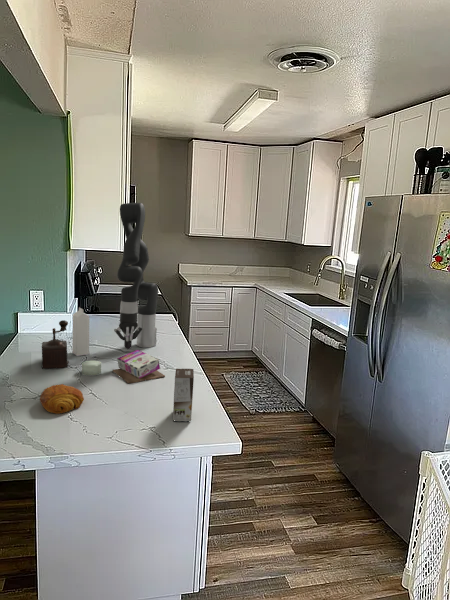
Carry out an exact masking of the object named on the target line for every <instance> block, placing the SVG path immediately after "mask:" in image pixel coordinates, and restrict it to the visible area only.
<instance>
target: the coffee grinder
mask: <svg viewBox="0 0 450 600" xmlns="http://www.w3.org/2000/svg"><path fill="white" fill-rule="evenodd" d="M58 325H59V326H60V329H59V330H56V327H54V328H52V329H51V330H52V339H51V340H48V341H41V365H42V366H41V368H42V369H41V370H53V369H66V368H68V365H69V360H68V343H67V340H64V339H58V338H57V339H56V334H57V333H61V332H62V333H63V332H65V331H67V326H68V325H69V323H68V321H67V320H60V321H58Z"/></svg>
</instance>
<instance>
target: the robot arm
mask: <svg viewBox="0 0 450 600" xmlns="http://www.w3.org/2000/svg"><path fill="white" fill-rule="evenodd" d="M119 216H120V221H121V224H122V228H123V231H124V235H125V242H124V244H123V251H122V252H123V253H122V258H121V259H122V260H121V262H120V265H119V267H118V270H117V279H118V280H119V281H120V282H121V283H122V282H123V283H125V282H126V283H133V284H132V285H130V286H125V287H122V288H121V293H120V294H121V295H120V306H119V324H118V327H117V328H114V333H115V334H116V335H117V336H118V337H119V338H120V340H122V341H123V347H124V348H125V349H126V350H130V349H131V348H132V345H133V344H132V341H133V340H136V346H137V347H140V348H146V349H147V348H153V347H155V346H157V327H156V314H157V313H156V312H157V307H158V297H159V287H158V285H157V283H154V282H147V281H145V280H144V272H145V270H146V268H147V267H148V264H149V261H150V256H149V255H150V254H149V250H148V247H147V244H146V243H145V242H144V241H143V239H142V236H143V231H144V227H145V222H146V209H145V205H144V204H143V203H142V202H125V203H121V204H120V206H119ZM132 224H135V226H134V228H133V226H132ZM138 300H141V301H142V300H143V301H147V302H146V304H145V305H141V306H139V307H138V305H139V304H138ZM121 332H122V333H121Z"/></svg>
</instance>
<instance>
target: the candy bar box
mask: <svg viewBox="0 0 450 600" xmlns="http://www.w3.org/2000/svg"><path fill="white" fill-rule="evenodd" d="M116 360H117V365H118V369H122V370H124V371H126V372H128V373H130V374H132V375H133V376H135V377H137V378H139V379H140V378H142V377H144V376H146V375H148V374H150V373H152V372H154V371H156V370H157V371H159V370H160V369H161V365H160V359H159V358H157V357H154V356H152V355H151V354H149V353H146V352H144V351H142V350H140V349H136V350H134V351H131V352H129V353H126V354H124V355H121V356H119V357H117V359H116Z"/></svg>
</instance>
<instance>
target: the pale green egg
mask: <svg viewBox="0 0 450 600" xmlns="http://www.w3.org/2000/svg"><path fill="white" fill-rule="evenodd" d="M81 374H82V375H84V376H90V377H92V376H99V375H100V374H102V362H101V361H98V360H86V361H83V362H82V363H81Z"/></svg>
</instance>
